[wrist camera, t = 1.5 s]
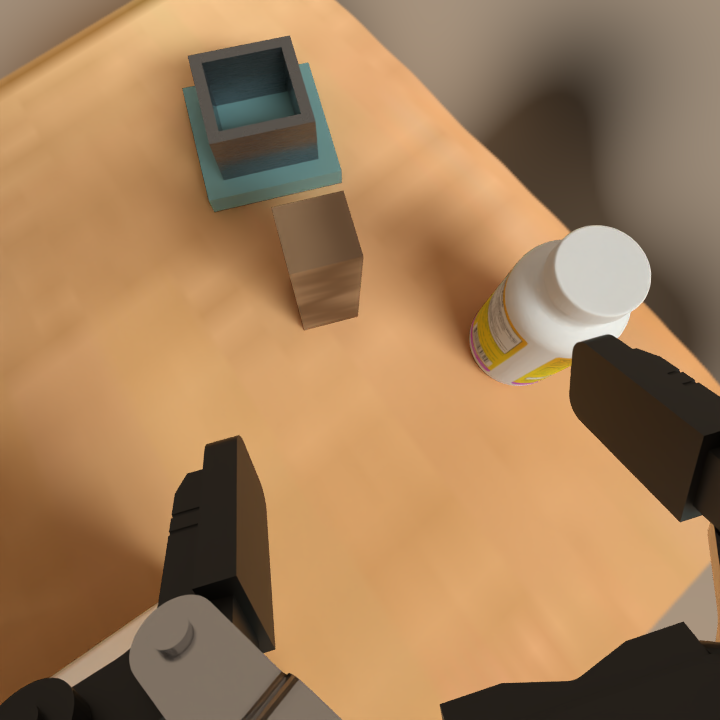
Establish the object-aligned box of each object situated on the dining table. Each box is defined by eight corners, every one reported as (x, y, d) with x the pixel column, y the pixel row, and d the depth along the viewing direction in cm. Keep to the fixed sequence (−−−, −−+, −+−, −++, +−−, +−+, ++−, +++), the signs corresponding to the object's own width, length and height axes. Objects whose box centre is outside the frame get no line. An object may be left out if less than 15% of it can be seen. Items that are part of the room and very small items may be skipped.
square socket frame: (223, 180, 36) (209, 144, 32) (204, 99, 37) (187, 55, 33) (318, 158, 36) (315, 121, 32) (295, 80, 38) (289, 35, 34)
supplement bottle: (572, 328, 36) (696, 250, 23) (532, 405, 34) (640, 365, 22) (492, 283, 36) (571, 182, 24) (449, 356, 35) (509, 290, 22)
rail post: (304, 330, 35) (289, 274, 25) (290, 279, 36) (271, 207, 26) (357, 316, 35) (363, 256, 25) (343, 267, 36) (343, 190, 26)
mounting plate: (214, 211, 37) (208, 201, 35) (188, 102, 39) (182, 88, 37) (341, 182, 38) (341, 170, 36) (309, 77, 40) (308, 62, 38)
